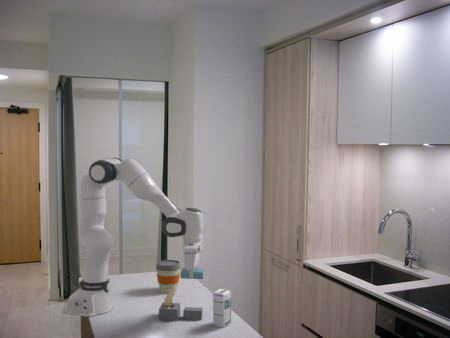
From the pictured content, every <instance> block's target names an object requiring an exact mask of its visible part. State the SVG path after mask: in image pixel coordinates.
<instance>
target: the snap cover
mask: <svg viewBox="0 0 450 338" xmlns="http://www.w3.org/2000/svg"><path fill="white" fill-rule="evenodd" d="M205 270H206V268H197V267H196V268H195V269H194V277H193V278H189V271H186V269H185V267H182V269H181V270H180V271H179V273H180V275H179V279H183V280H184V279H187V280H188V279H189V280H204V278H205V276H206V275H205V274H206V273H205Z"/></svg>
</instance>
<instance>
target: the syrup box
mask: <svg viewBox="0 0 450 338" xmlns="http://www.w3.org/2000/svg"><path fill="white" fill-rule="evenodd" d="M231 294H232V292H231V290H229V289H224V288H219V289H217V290H216V291H213V292H212V314H213V315H212V320H213V321H212V323H213V325H214V326H215V327H220V328H226V327H227V326H229V325H231V323H232V305H231V303H232V300H231V299H232V298H231V297H232V296H231Z"/></svg>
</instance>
